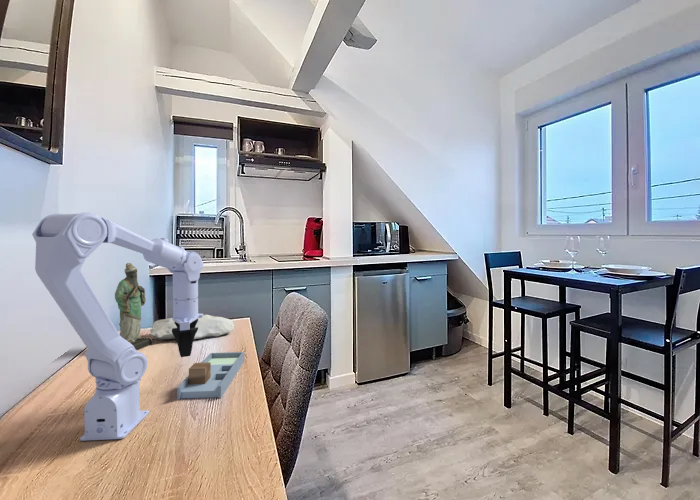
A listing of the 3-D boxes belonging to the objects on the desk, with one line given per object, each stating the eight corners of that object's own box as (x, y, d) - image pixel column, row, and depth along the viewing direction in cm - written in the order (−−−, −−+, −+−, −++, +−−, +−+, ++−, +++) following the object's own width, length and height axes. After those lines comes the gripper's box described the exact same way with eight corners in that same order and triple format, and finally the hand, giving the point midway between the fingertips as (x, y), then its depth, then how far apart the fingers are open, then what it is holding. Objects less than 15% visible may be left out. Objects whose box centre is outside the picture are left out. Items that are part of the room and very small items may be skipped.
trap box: (221, 398, 77) (220, 386, 77) (177, 399, 76) (176, 387, 76) (244, 361, 100) (244, 351, 100) (210, 362, 99) (210, 352, 99)
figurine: (129, 353, 107) (127, 264, 106) (103, 351, 108) (101, 263, 107) (153, 343, 117) (151, 262, 116) (129, 341, 118) (127, 261, 117)
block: (205, 383, 81) (205, 368, 81) (188, 384, 81) (188, 368, 80) (210, 377, 85) (210, 362, 85) (195, 377, 85) (195, 362, 84)
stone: (154, 311, 130) (232, 307, 143) (154, 330, 131) (231, 324, 144) (147, 328, 111) (237, 322, 124) (147, 349, 112) (236, 341, 125)
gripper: (203, 302, 76) (203, 358, 76) (202, 293, 89) (203, 341, 89) (169, 304, 73) (170, 363, 73) (174, 294, 86) (174, 344, 86)
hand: (186, 351), depth 81 cm, fingers open, 7 cm apart
